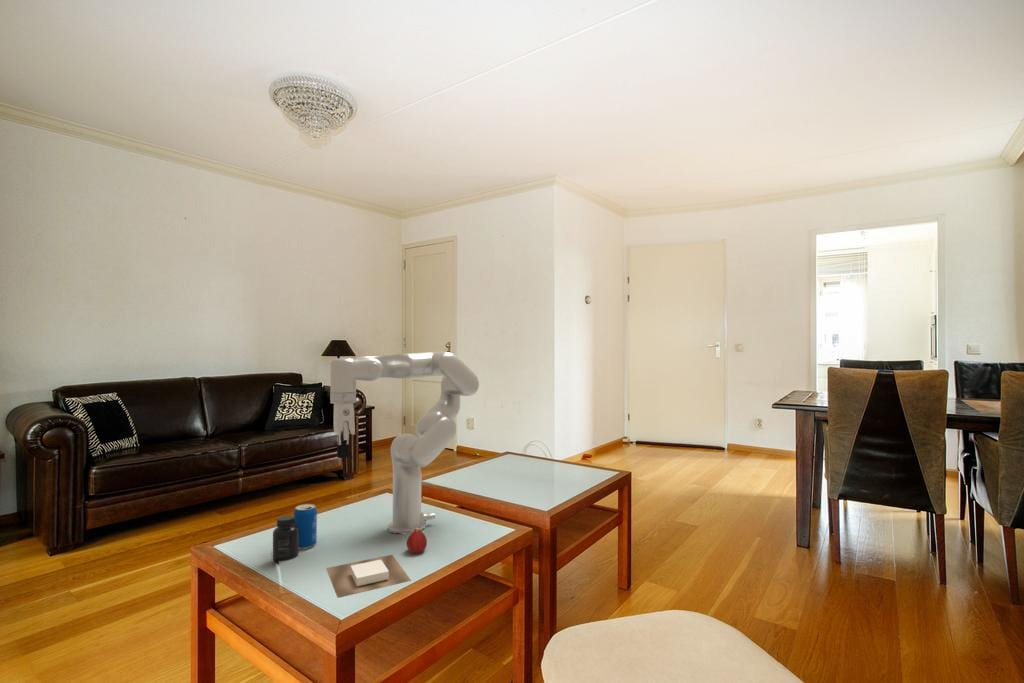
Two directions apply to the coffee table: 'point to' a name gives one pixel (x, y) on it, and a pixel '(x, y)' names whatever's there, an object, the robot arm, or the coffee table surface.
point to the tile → (369, 572)
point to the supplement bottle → (285, 539)
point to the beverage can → (306, 525)
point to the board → (347, 586)
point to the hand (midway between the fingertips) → (342, 457)
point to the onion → (416, 541)
